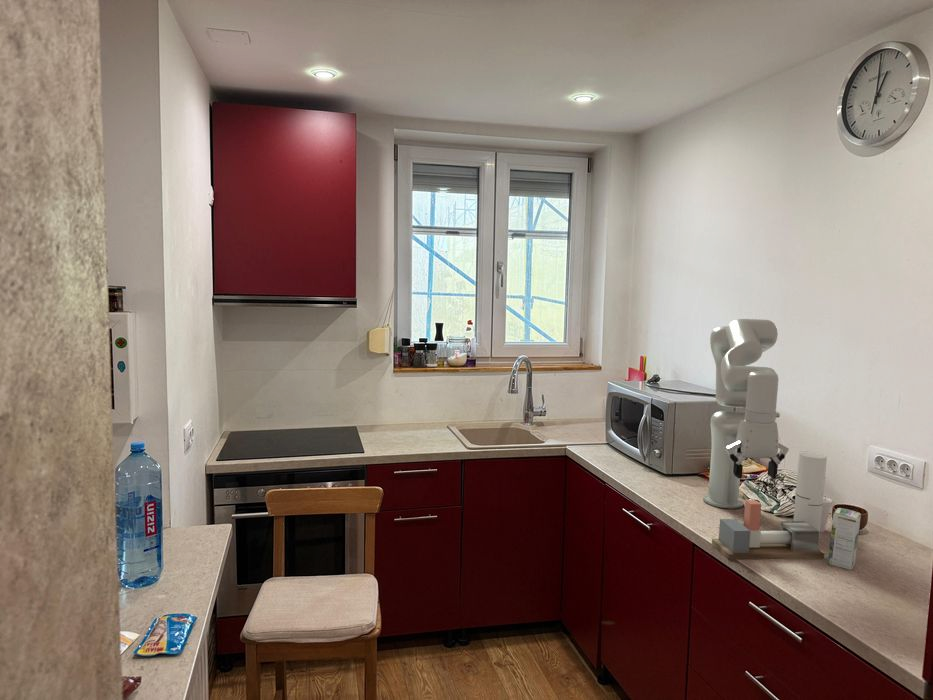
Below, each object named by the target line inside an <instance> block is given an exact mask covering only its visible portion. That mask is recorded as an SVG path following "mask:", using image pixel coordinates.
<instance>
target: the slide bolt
mask: <svg viewBox="0 0 933 700" xmlns="http://www.w3.org/2000/svg"><path fill="white" fill-rule="evenodd" d="M744 501H745V502H744V511H743V512H744V514H743V525H744V526H745V527H746V528H748V529H749V530H750V543H749V547H760V544H791V541H792V533H791V532H790V531H780V530H760V526H761V525H760V524H761V513H762V503H761V502H759V501H758V500H755V499H754V500H753V499H752V500H751V499H750V500H749V499H748V500H747V499H746V500H744Z"/></svg>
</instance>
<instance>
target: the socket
mask: <svg viewBox="0 0 933 700" xmlns="http://www.w3.org/2000/svg"><path fill="white" fill-rule="evenodd" d="M743 524H744V523H743ZM743 524H742V523H741V522H740V521H739V519H736V518H720V519H719V529H718V539H719V541H720V542H721V543H722V544H723V545H724V546H726V547H727V548H728V549H729V550H730V551H731V552H732V553H749V543H750V530H749V529H748V528H746V527H745V526H744V525H743Z"/></svg>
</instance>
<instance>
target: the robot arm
mask: <svg viewBox="0 0 933 700" xmlns="http://www.w3.org/2000/svg"><path fill="white" fill-rule="evenodd" d="M778 334H779V333H778V328H777V326H776V324H775V323H774V322H773V321H772V320H769V319H761V318H760V319H757V318H755V319H754V318H751V319H750V318H739V319H738V318H737V319H734V320H732V321H730V323H728V325H727V326H725V325H724V326H719V327H718V326H717V327H715V328H714V329H713V330H711V333H710V339H709V341H710V343H709V344H710V345H709V346H710V350H711V354H712V357H713V359H714V363H715V400H716V402H717V404H718V405H719V406H721V407H728V408H729V407H730V408H738V409H739V408H740V409H744V410H745V411H738V410H736V411H735V410H720V411H716V412H714V413H713V414H712V416H711V417H710V423H709V424H710V433H711V435H710V436H711V447H710V448H711V452H710V453H711V454H710V464H709V465H710V466H709V467H710V468H709V480H708V484H707V488H708V493H705V494H704V495H703V498H702V499H703V501H704V502H705V503H706V504H708V505H710V506H713V507H715V508H722V509H733V510H734V509H739V508H742V507H743V506H744V501H743V499H742V498H740V497H739V496H740V495H739V494H740V484H741V483H740V482H741V481H740V480H741V479H742V478H743V467H744V465H743V464H742V463H743V462H744V461H745V460H746V459H769V461H768V465H767V475H768V477H771V478H772V479H777V475H778V470H779V469H778V468H779V465H781V462H782V461H783V460H784V459H785V458H786V455H787V454H788V452H789V450H790V449H789V447H787V446H785V445H783V444H782V443H779V430H778V429H779V428H778V423H777V420H776V418H780V412H777V400H778V391H779V375H778V374H777V372H776V370H775V369H773V368H771V367H765V366H752V364H754V363H756V362H757V361H758V360H759V359H761V357H762V356H763V353H764V352H766V351H768V350H769V349H771V348H773V346H775V344H776V342H777V341H778ZM750 365H751V366H750ZM779 449H780V450H779Z"/></svg>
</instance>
